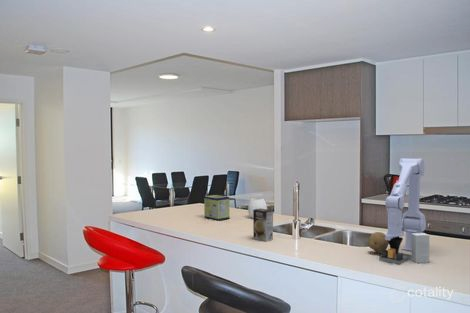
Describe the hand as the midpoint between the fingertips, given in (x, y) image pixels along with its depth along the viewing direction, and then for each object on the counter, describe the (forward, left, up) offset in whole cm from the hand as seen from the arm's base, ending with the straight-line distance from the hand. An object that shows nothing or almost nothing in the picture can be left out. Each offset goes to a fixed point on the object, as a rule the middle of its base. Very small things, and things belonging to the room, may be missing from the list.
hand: (394, 253), depth 177 cm
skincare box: (-5, +9, -3) cm, 11 cm away
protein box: (-13, -131, -3) cm, 132 cm away
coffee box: (+11, -67, -3) cm, 68 cm away
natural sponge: (-5, -10, -3) cm, 12 cm away
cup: (-34, -112, -3) cm, 117 cm away
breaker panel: (-1, 0, -3) cm, 3 cm away
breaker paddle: (+3, 0, -1) cm, 3 cm away
